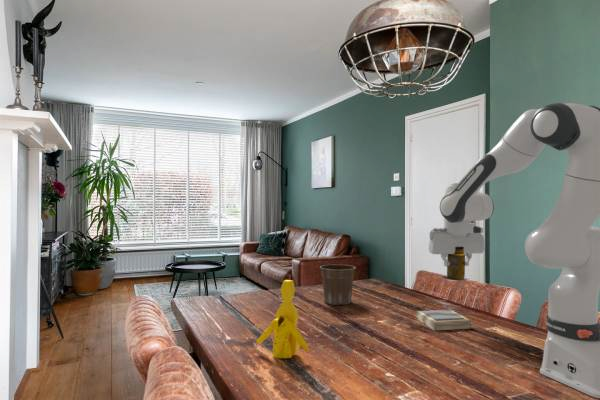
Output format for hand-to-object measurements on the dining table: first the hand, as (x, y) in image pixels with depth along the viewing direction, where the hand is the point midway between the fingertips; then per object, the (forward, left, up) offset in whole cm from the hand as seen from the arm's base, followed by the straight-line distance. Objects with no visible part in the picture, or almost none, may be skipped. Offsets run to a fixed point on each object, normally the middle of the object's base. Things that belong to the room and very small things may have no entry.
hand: (456, 266), depth 145 cm
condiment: (0, +1, -5) cm, 5 cm away
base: (+5, +2, -22) cm, 23 cm away
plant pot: (+42, +33, -23) cm, 58 cm away
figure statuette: (-16, +64, -23) cm, 70 cm away
